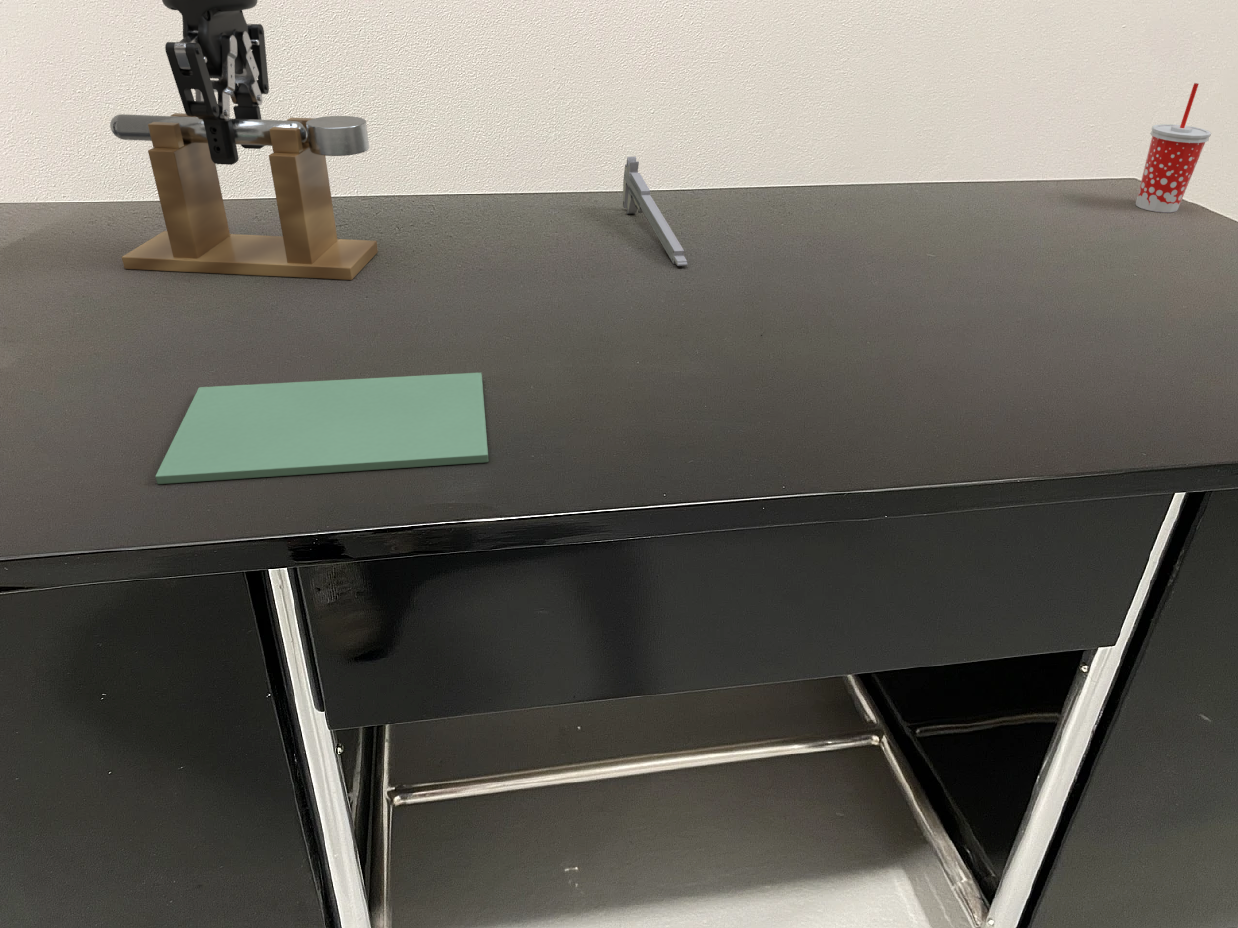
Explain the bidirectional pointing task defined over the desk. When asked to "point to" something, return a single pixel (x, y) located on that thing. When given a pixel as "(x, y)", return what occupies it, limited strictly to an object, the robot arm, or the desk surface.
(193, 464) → the mat
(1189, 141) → the beverage cup
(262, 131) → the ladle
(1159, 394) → the desk surface
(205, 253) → the rack
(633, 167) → the caliper
